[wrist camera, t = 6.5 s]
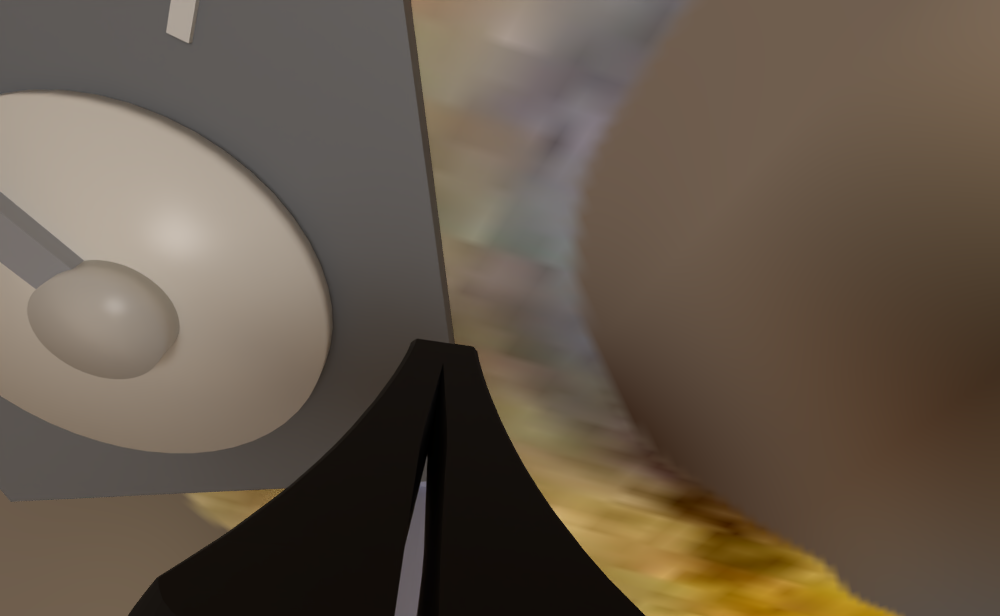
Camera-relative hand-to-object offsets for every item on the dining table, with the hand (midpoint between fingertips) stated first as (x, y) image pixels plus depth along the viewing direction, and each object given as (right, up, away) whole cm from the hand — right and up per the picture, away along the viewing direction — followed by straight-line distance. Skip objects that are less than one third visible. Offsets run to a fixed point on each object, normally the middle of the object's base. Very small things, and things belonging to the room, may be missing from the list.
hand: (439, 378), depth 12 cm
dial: (-13, +3, +7) cm, 15 cm away
